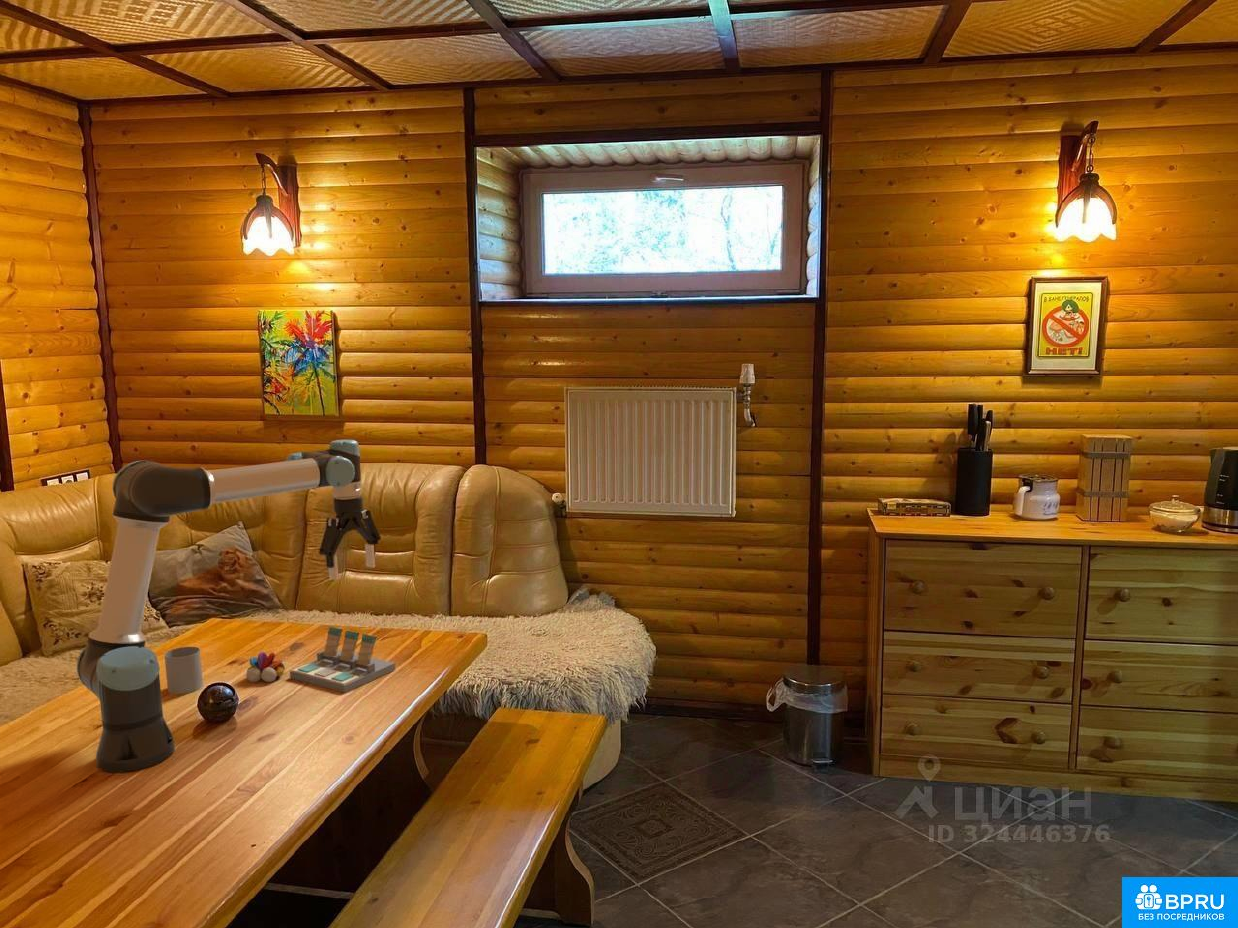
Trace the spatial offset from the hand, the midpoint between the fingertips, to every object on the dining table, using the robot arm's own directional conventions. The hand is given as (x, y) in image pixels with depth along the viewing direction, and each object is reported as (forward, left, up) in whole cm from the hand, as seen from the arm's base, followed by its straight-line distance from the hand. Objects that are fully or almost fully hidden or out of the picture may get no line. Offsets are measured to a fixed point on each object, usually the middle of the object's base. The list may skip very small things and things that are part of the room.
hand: (352, 572), depth 240 cm
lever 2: (-5, 0, -24) cm, 25 cm away
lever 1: (-5, +6, -24) cm, 25 cm away
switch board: (-6, 0, -27) cm, 28 cm away
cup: (-33, +29, -27) cm, 52 cm away
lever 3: (-5, -7, -24) cm, 25 cm away
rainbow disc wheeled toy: (-18, +16, -27) cm, 36 cm away
